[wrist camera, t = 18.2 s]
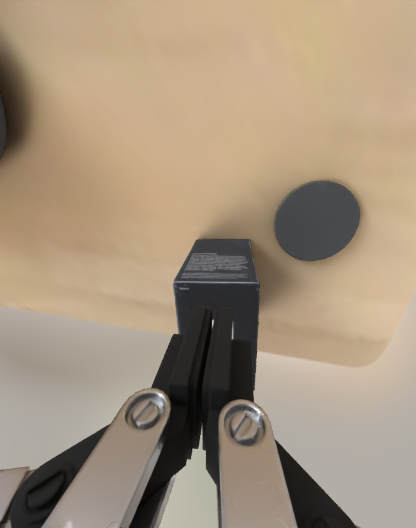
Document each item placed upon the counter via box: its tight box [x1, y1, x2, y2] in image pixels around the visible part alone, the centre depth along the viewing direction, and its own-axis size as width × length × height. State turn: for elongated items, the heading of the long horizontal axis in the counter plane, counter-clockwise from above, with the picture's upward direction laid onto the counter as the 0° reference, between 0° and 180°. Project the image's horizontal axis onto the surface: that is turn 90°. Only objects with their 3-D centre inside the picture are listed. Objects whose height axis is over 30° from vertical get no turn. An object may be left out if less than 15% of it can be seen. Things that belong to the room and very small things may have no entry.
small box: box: [173, 239, 260, 390], centre depth 23 cm, size 11×6×10 cm, turn 2°
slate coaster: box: [274, 181, 360, 261], centre depth 23 cm, size 8×8×1 cm
